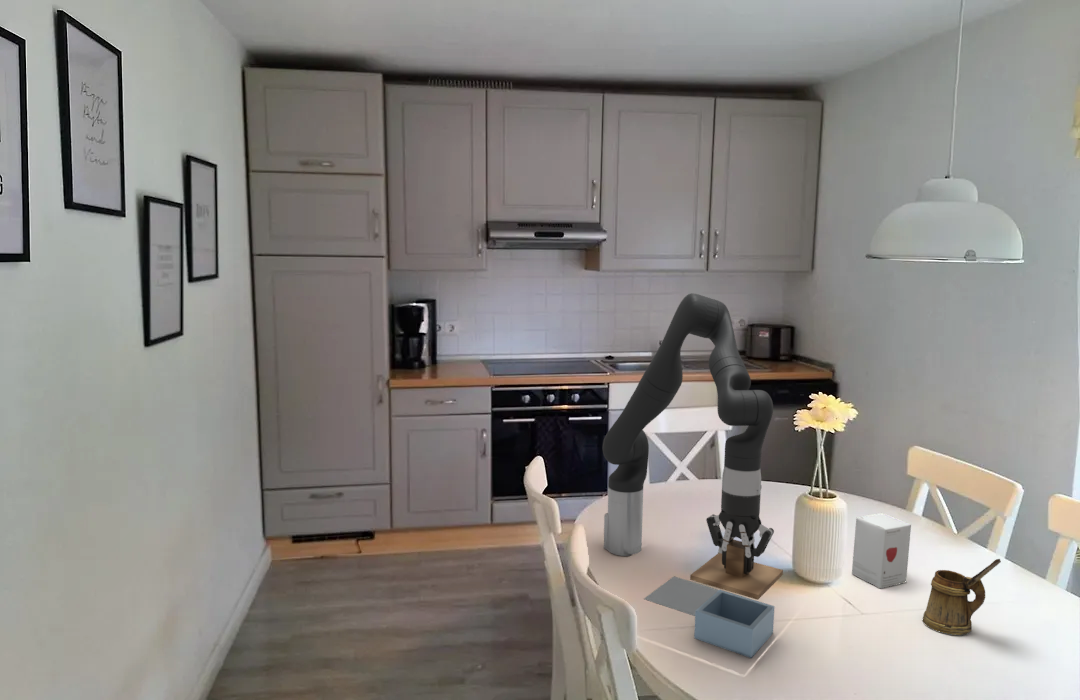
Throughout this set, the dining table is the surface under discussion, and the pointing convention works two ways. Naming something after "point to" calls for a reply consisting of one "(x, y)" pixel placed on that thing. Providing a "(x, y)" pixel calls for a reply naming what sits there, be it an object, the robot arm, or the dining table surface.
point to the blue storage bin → (734, 623)
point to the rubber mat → (681, 595)
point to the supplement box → (881, 549)
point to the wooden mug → (954, 600)
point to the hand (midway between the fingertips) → (737, 569)
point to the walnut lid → (737, 573)
